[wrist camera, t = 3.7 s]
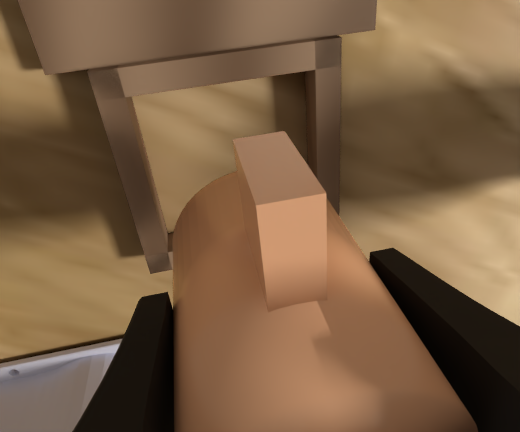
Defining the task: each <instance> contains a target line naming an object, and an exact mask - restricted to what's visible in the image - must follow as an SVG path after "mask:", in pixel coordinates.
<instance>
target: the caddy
mask: <svg viewBox="0 0 520 432" xmlns="http://www.w3.org/2000/svg"><path fill="white" fill-rule="evenodd" d="M18 3H19V6H20V8H21V11H22V14H23V16H24V19H25V22H26V24H27V27H28V30H29V33H30V35H31V38H32V41H33V43H34V46H35V49H36V52H37V54H38V57H39V60H40V62H41V65H42V68H43V70H44V73H45V75H50V74H57V73H65V72H72V71H79V70H87V69H89V71H88V72H87V73H88V77H89V80H90V83H91V86H92V89H93V92H94V96H95V99H96V102H97V105H98V108H99V112H100V115H101V118H102V121H103V124H104V127H105V131H106V134H107V137H108V140H109V143H110V147H111V150H112V153H113V156H114V159H115V162H116V166H117V169H118V172H119V175H120V178H121V182H122V185H123V188H124V191H125V194H126V197H127V201H128V204H129V207H130V210H131V213H132V217H133V220H134V223H135V226H136V229H137V232H138V236H139V239H140V242H141V245H142V248H143V252H144V255H145V258H146V261H147V264H148V267H149V271H150V274H152V273H157V272H162V271H167V270H173V234H174V233H169V234H168V233H167V229H166V225H165V221H164V218H163V214H162V210H161V206H160V202H159V199H158V195H157V191H156V187H155V184H154V180H153V176H152V172H151V169H150V165H149V161H148V157H147V154H146V150H145V146H144V142H143V138H142V135H141V131H140V127H139V123H138V120H137V116H136V112H135V108H134V105H133V101H132V97H131V96H137V95H144V94H151V93H158V92H165V91H172V90H179V89H186V88H193V87H200V86H206V85H213V84H220V83H227V82H234V81H241V80H248V79H255V78H262V77H268V76H275V75H282V74H289V73H296V72H303V71H305V92H306V122H307V152H308V166H309V168H310V169H311V171H312V172H313V174H314V175H315V177H316V178H317V180H318V181H319V183H320V184H321V186H322V187H323V189H324V190H325V192H326V197H327V199H328V200H329V202H330V203H331V205H332V207H333V208H334V210H335V211H336V213H337V214H338V216H339V191H340V117H341V42H342V37H340V36H337V35H342V34H350V33H357V32H364V31H372V30H375V24H376V6H377V0H18Z"/></svg>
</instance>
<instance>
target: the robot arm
mask: <svg viewBox="0 0 520 432" xmlns="http://www.w3.org/2000/svg"><path fill="white" fill-rule="evenodd" d="M369 262H370V264H371V265H372V267H373V268H374V270H375V271H376V273H377V275H378V276H379V278H380V279H381V281H382V282H383V284H384V285H385V287H386V288H387V290H388V291H389V293H390V294H391V296H392V297H393V299H394V300H395V302H396V303H397V305H398V306H399V308H400V309H401V311H402V312H403V314H404V315H405V317H406V318H407V320H408V321H409V323H410V324H411V326H412V327H413V329H414V330H415V332H416V333H417V335H418V336H419V338H420V339H421V341H422V343H423V344H424V346H425V347H426V349H427V350H428V352H429V353H430V355H431V356H432V358H433V359H434V361H435V362H436V364H437V365H438V367H439V368H440V370H441V371H442V373H443V374H444V376H445V377H446V379H447V380H448V382H449V383H450V385H451V386H452V388H453V389H454V391H455V392H456V394H457V395H458V397H459V398H460V400H461V401H462V403H463V404H464V406H465V408H466V409H467V411H468V412H469V414H470V415H471V417H472V418H473V420H474V422H475V423H476V425H477V429H478V432H520V326H518V325H516V324H514V323H513V322H511V321H509V320H507V319H505V318H504V317H502V316H500V315H498V314H497V313H495V312H493V311H491V310H490V309H488V308H486V307H485V306H483V305H481V304H480V303H478V302H476V301H474V300H473V299H471V298H470V297H468V296H466V295H465V294H463V293H462V292H460V291H458V290H457V289H455V288H454V287H452V286H451V285H449V284H447V283H446V282H444V281H443V280H441V279H440V278H438V277H437V276H435V275H434V274H432V273H431V272H429V271H428V270H426V269H425V268H423V267H422V266H420V265H419V264H417V263H416V262H414V261H413V260H411V259H410V258H408V257H407V256H405V255H404V254H402V253H400V252H399V251H397V250H396V249H394V248H389V249H384V250H379V251H374V252H370V261H369ZM0 432H174V346H173V309H172V305H171V302H170V298H169V295H168V292H165V293H160V294H155V295H150V296H145V297H142V298H141V299H140V300H139V301H138V304H137V306H136V309H135V311H134V314H133V316H132V319H131V321H130V323H129V326H128V328H127V330H126V332H125V334H124V337H123V339H118V340H113V341H108V342H103V343H98V344H93V345H89V346H84V347H79V348H74V349H69V350H64V351H59V352H54V353H50V354H45V355H40V356H35V357H30V358H25V359H20V360H15V361H11V362H6V363H1V364H0Z"/></svg>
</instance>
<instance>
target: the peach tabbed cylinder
mask: <svg viewBox="0 0 520 432" xmlns="http://www.w3.org/2000/svg"><path fill="white" fill-rule="evenodd" d="M233 145H234V153H235V160H236V167H237V171H236V172H233V173H230V174H227V175H224V176H222V177H220V178H218V179H216V180H214V181H213V182H211V183H210V184H208V185H207V186H205V187H204V188H202V189H201V190H200V191H199V192H198V193H197V194H195V195H194V197H193V198H192V199H191V200H190V201H189V202H188V203H187V205H186V206H185V208H184V209H183V211H182V212H181V214H180V216H179V218H178V220H177V223H176V226H175V229H174V234H173V346H174V432H478V429H477V425H476V423H475V422H474V420H473V418H472V417H471V415H470V414H469V412H468V411H467V409H466V408H465V406H464V404H463V403H462V401H461V400H460V398H459V397H458V395H457V394H456V392H455V391H454V389H453V388H452V386H451V385H450V383H449V382H448V380H447V379H446V377H445V376H444V374H443V373H442V371H441V370H440V368H439V367H438V365H437V364H436V362H435V361H434V359H433V358H432V356H431V355H430V353H429V352H428V350H427V349H426V347H425V346H424V344H423V343H422V341H421V339H420V338H419V336H418V335H417V333H416V332H415V330H414V329H413V327H412V326H411V324H410V323H409V321H408V320H407V318H406V317H405V315H404V314H403V312H402V311H401V309H400V308H399V306H398V305H397V303H396V302H395V300H394V299H393V297H392V296H391V294H390V293H389V291H388V290H387V288H386V287H385V285H384V284H383V282H382V281H381V279H380V278H379V276H378V275H377V273H376V271H375V270H374V268H373V267H372V265H371V264H370V262H369V261H368V259H367V258H366V256H365V255H364V253H363V252H362V250H361V249H360V247H359V246H358V244H357V243H356V241H355V240H354V238H353V237H352V235H351V234H350V232H349V231H348V229H347V228H346V226H345V225H344V223H343V222H342V220H341V219H340V217H339V216H338V214H337V213H336V211H335V210H334V208H333V207H332V205H331V203H330V202H329V200H328V199H327V197H326V192H325V190H324V189H323V187H322V186H321V184H320V183H319V181H318V180H317V178H316V177H315V175H314V174H313V172H312V171H311V169H310V168H309V166H308V165H307V163H306V162H305V160H304V159H303V158H302V156H301V155H300V153H299V152H298V150H297V149H296V147H295V146H294V144H293V143H292V141H291V140H290V138H289V137H288V135H287V134H286V132H285V131H281V132H274V133H268V134H262V135H256V136H249V137H243V138H237V139H233Z"/></svg>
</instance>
